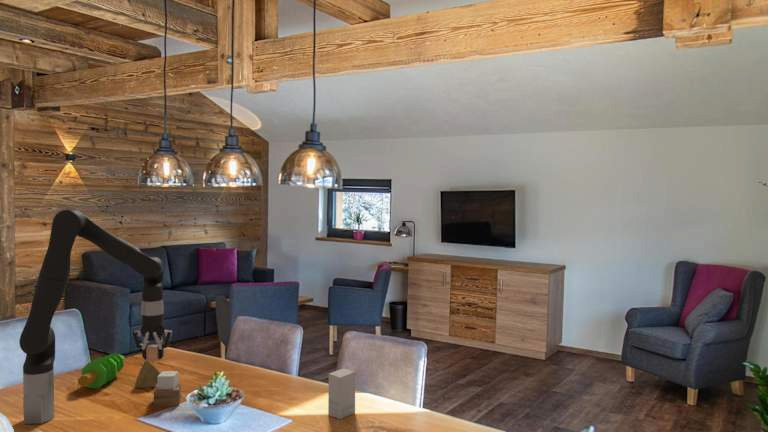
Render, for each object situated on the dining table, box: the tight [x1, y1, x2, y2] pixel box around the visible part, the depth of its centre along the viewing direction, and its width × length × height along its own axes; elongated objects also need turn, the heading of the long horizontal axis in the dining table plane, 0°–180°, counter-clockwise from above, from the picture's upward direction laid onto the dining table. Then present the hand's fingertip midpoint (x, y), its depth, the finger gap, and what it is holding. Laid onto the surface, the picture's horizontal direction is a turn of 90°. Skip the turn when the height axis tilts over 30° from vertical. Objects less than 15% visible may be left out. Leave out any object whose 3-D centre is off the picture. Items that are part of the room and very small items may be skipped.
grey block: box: [157, 370, 180, 389], centre depth 229 cm, size 6×6×5 cm
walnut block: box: [153, 381, 182, 408], centre depth 229 cm, size 9×9×6 cm
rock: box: [134, 360, 161, 389], centre depth 245 cm, size 11×9×10 cm
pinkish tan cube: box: [145, 344, 161, 363], centre depth 218 cm, size 5×5×5 cm
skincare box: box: [327, 367, 356, 420], centre depth 218 cm, size 8×7×16 cm
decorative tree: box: [77, 353, 125, 389], centre depth 251 cm, size 11×12×30 cm
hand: (153, 358), depth 219 cm, fingers closed on pinkish tan cube, 4 cm apart
